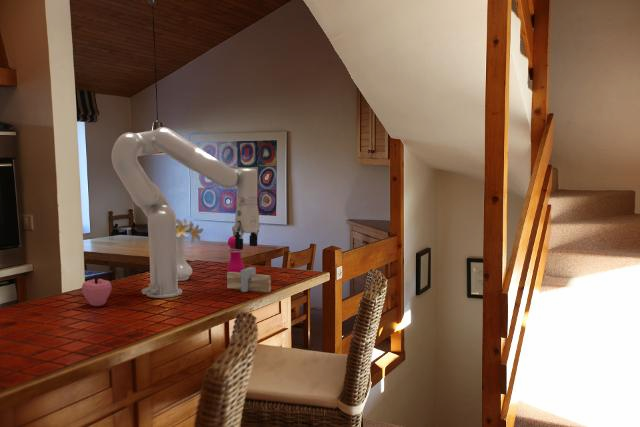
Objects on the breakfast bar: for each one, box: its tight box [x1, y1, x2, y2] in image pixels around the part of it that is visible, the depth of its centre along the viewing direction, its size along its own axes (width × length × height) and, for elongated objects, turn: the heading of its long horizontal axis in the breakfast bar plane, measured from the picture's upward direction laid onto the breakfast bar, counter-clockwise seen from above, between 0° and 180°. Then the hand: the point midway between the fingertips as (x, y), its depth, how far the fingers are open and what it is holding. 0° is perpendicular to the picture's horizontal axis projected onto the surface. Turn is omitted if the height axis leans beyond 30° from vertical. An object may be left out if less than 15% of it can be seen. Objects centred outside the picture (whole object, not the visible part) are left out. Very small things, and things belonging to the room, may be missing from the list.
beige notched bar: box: [226, 271, 272, 294], centre depth 220 cm, size 2×18×6 cm, turn 64°
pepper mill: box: [226, 234, 246, 273], centre depth 235 cm, size 7×7×20 cm
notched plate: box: [240, 266, 257, 293], centre depth 220 cm, size 2×7×8 cm, turn 154°
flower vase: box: [176, 218, 204, 282], centre depth 239 cm, size 13×18×25 cm
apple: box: [81, 277, 113, 307], centre depth 198 cm, size 10×9×10 cm
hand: (246, 247), depth 218 cm, fingers open, 9 cm apart
